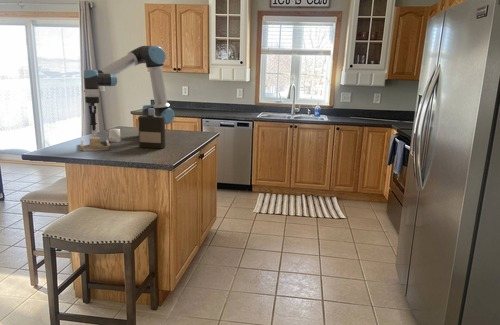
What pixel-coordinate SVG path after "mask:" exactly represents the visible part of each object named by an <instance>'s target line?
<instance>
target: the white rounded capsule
mask: <svg viewBox="0 0 500 325" xmlns="http://www.w3.org/2000/svg"><path fill="white" fill-rule="evenodd" d="M108 134H109V143H120V142H121V141H122V140H121V129H120V128H110V129H108Z"/></svg>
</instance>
